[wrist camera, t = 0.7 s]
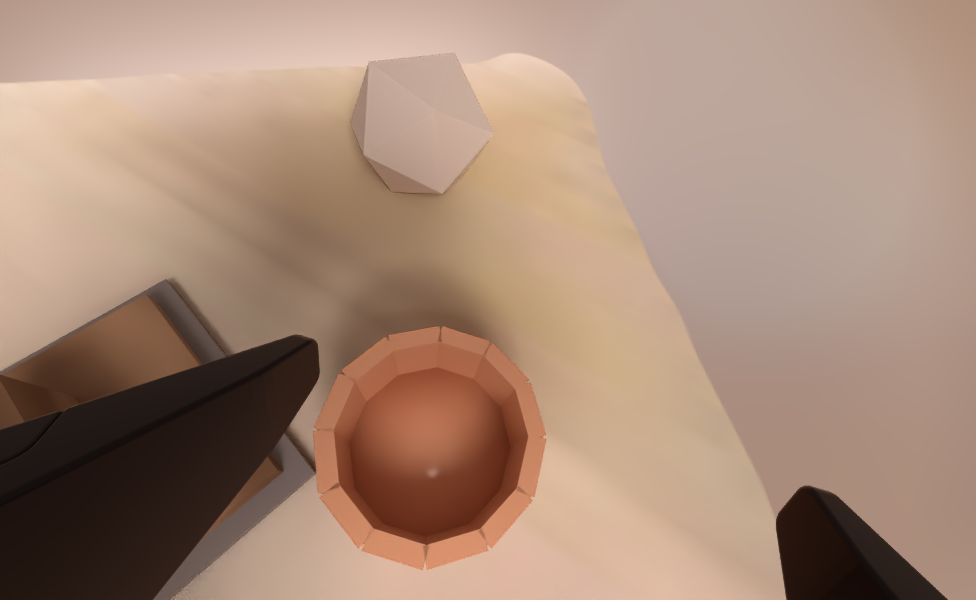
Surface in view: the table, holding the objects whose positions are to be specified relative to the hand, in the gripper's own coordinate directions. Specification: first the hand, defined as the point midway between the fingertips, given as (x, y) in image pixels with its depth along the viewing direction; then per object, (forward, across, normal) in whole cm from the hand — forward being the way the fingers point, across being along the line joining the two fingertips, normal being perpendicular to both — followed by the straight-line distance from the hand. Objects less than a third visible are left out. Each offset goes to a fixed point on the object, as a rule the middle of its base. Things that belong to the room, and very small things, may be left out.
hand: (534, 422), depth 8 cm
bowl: (+9, +4, +13) cm, 16 cm away
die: (+23, +12, +2) cm, 26 cm away
